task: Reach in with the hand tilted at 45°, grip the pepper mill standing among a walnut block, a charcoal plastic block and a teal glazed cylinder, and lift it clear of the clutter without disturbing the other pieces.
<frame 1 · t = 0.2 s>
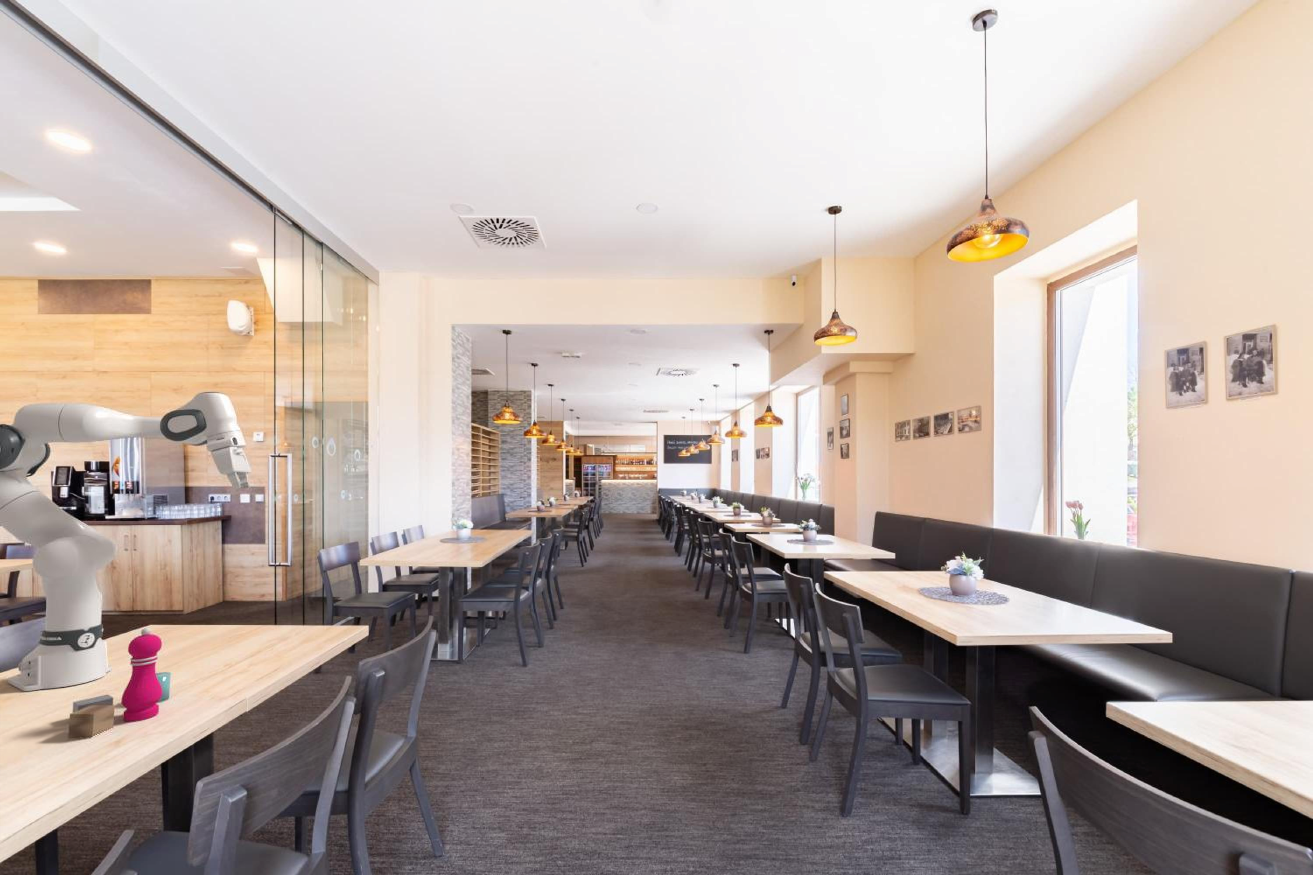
hand: (241, 488, 180), 52 cm above the table, tool tilted 20°, fingers open, 8 cm apart
walnut block: (91, 733, 130), on the table
charcoal block: (92, 717, 138), on the table
pepper mill: (141, 717, 139), on the table
teal glazed cylinder: (156, 700, 149), on the table
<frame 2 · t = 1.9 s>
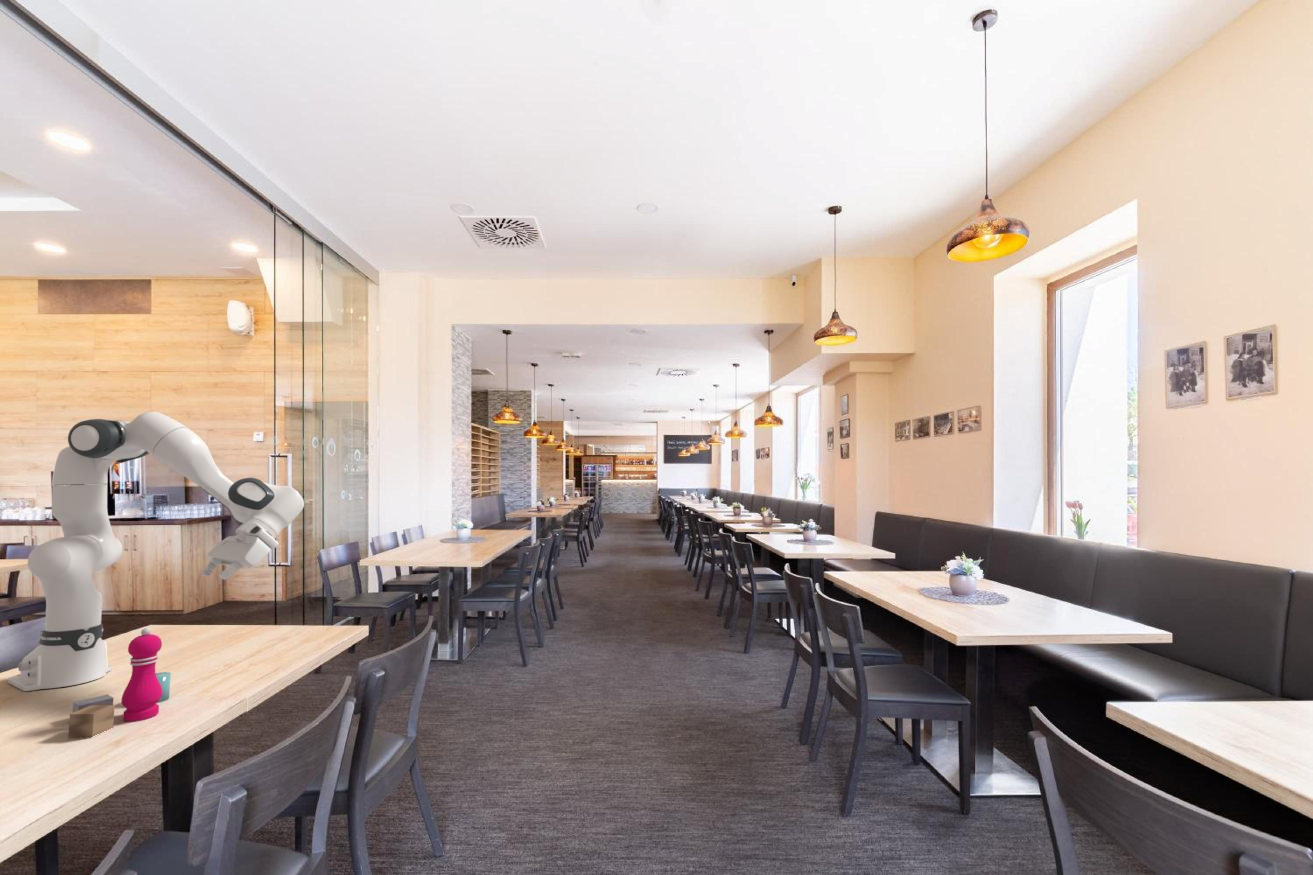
hand: (212, 576, 158), 29 cm above the table, tool tilted 45°, fingers open, 8 cm apart
nothing on the table moved.
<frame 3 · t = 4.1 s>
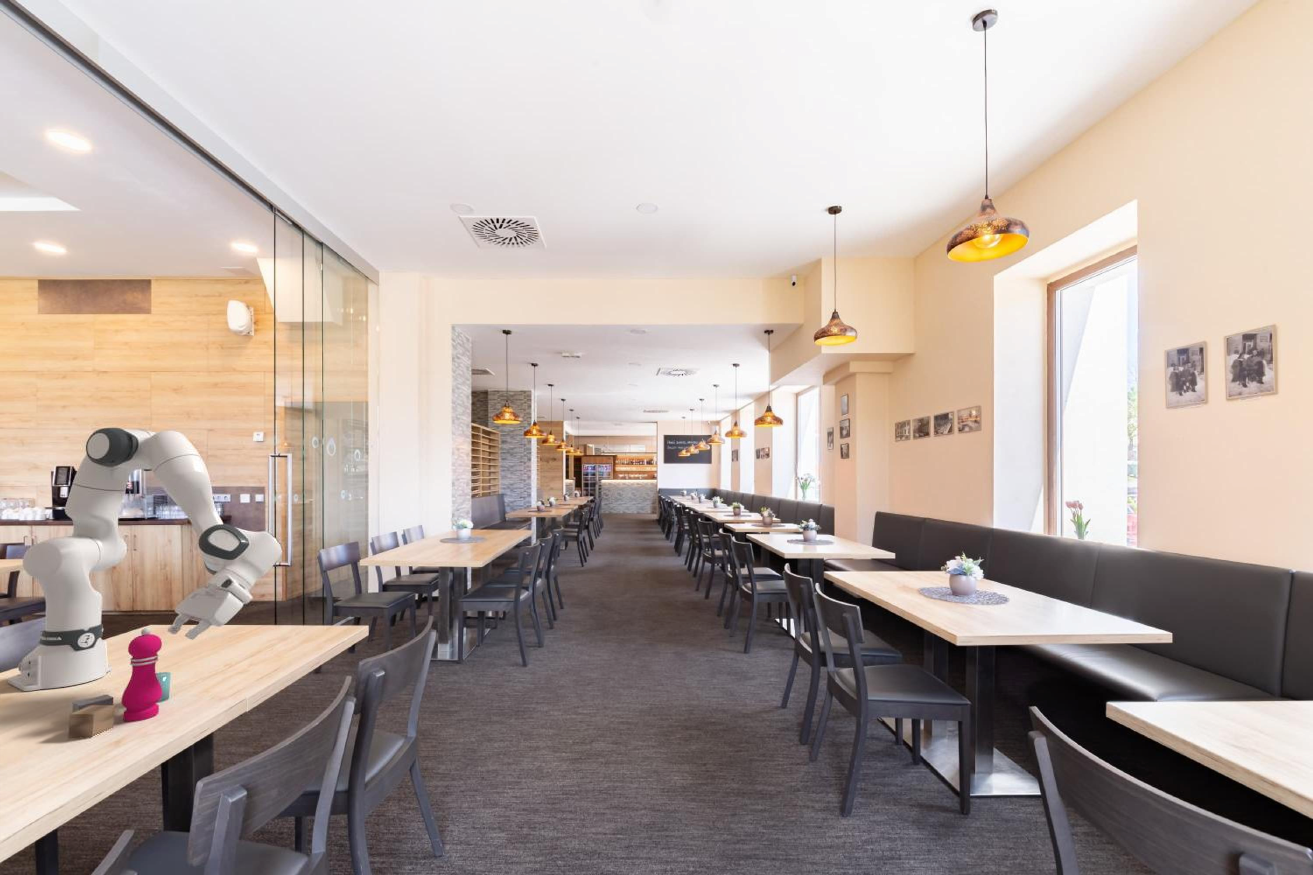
hand: (179, 635, 146), 17 cm above the table, tool tilted 45°, fingers open, 8 cm apart
nothing on the table moved.
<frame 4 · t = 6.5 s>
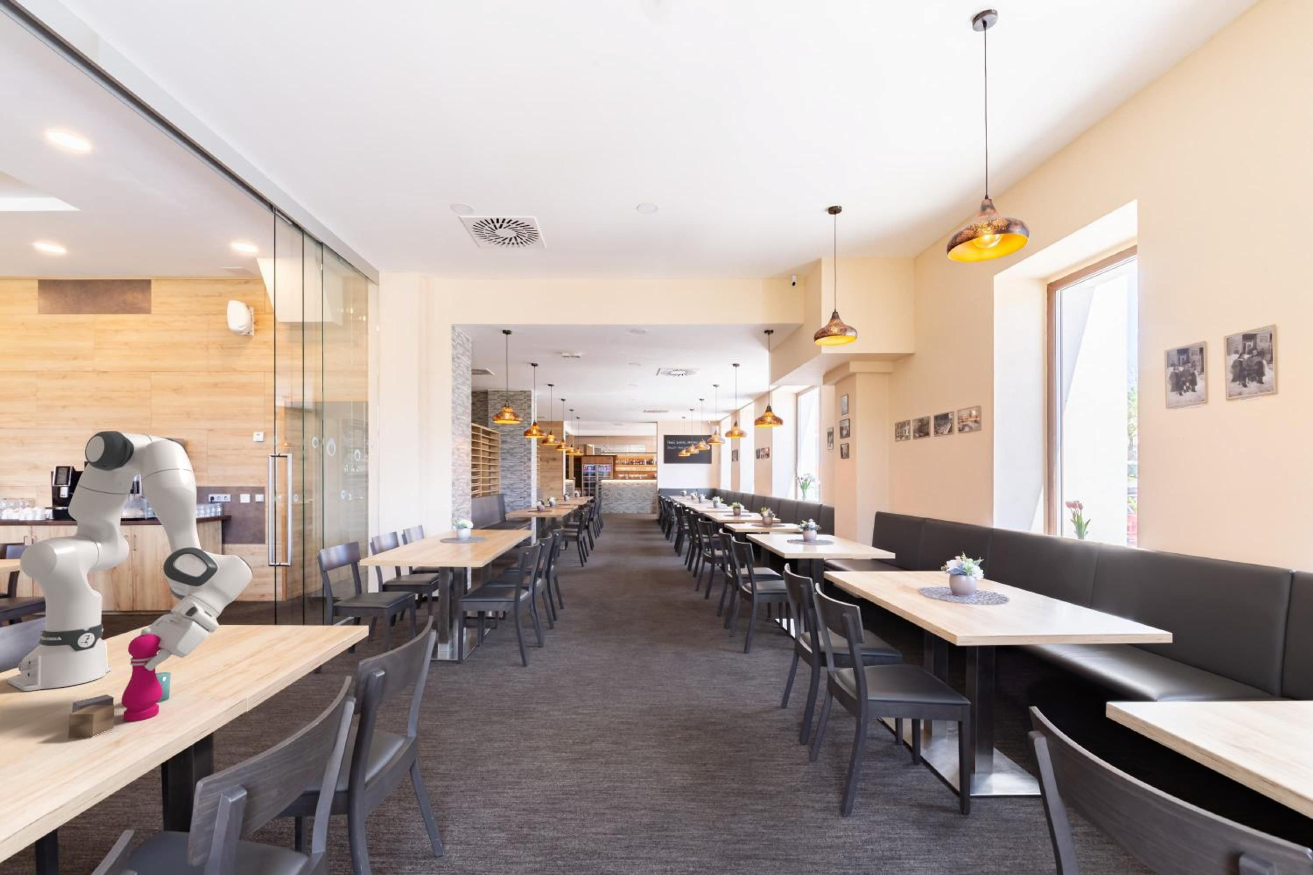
hand: (140, 666, 139), 11 cm above the table, tool tilted 45°, fingers closed on pepper mill, 5 cm apart
pepper mill: (141, 717, 139), on the table, touching gripper
everything else where it was.
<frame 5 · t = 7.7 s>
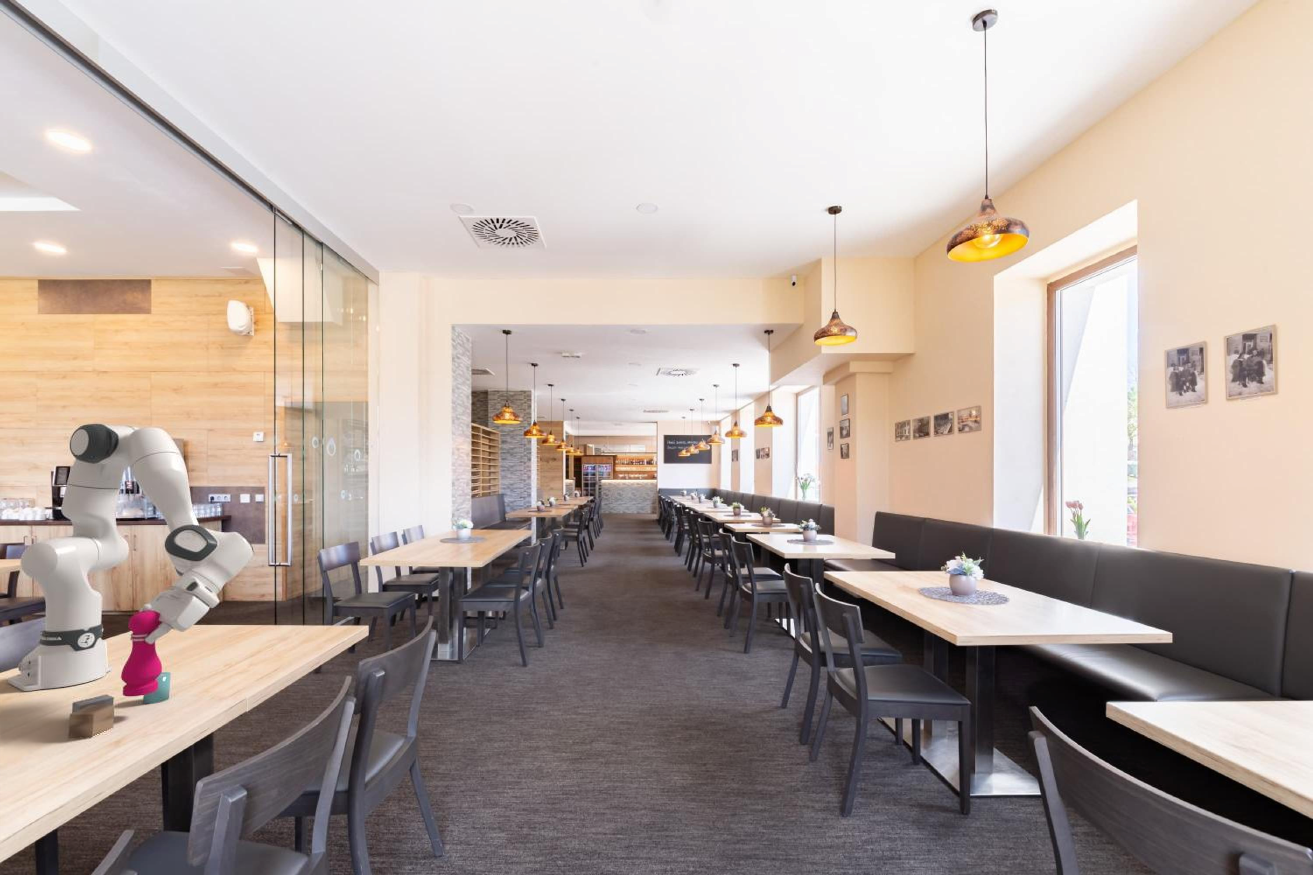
hand: (140, 639, 140), 17 cm above the table, tool tilted 45°, fingers closed on pepper mill, 5 cm apart
pepper mill: (140, 692, 139), point 5 cm above the table, touching gripper
everything else where it was.
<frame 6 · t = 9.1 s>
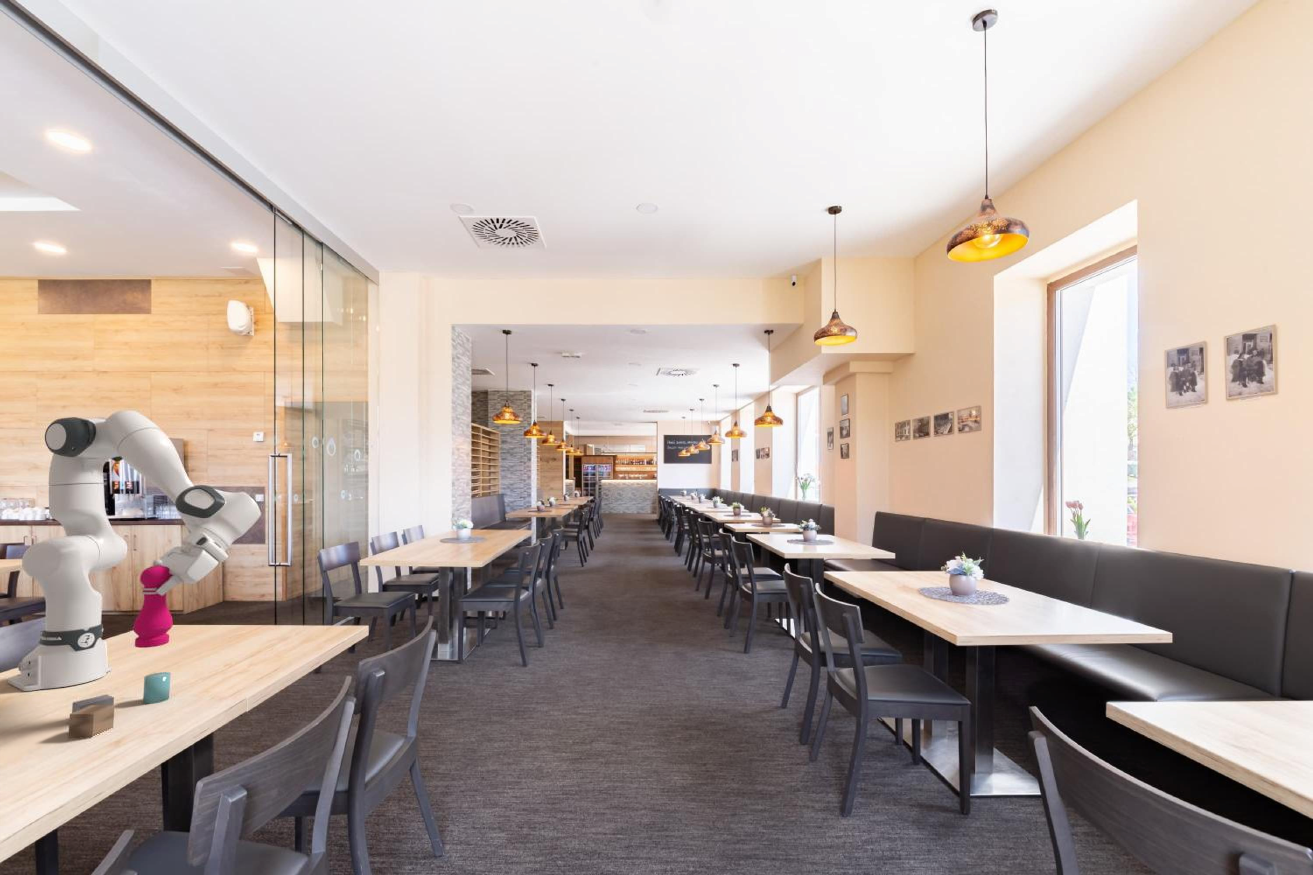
hand: (152, 591, 144), 28 cm above the table, tool tilted 45°, fingers closed on pepper mill, 5 cm apart
pepper mill: (151, 645, 143), point 15 cm above the table, touching gripper
everything else where it was.
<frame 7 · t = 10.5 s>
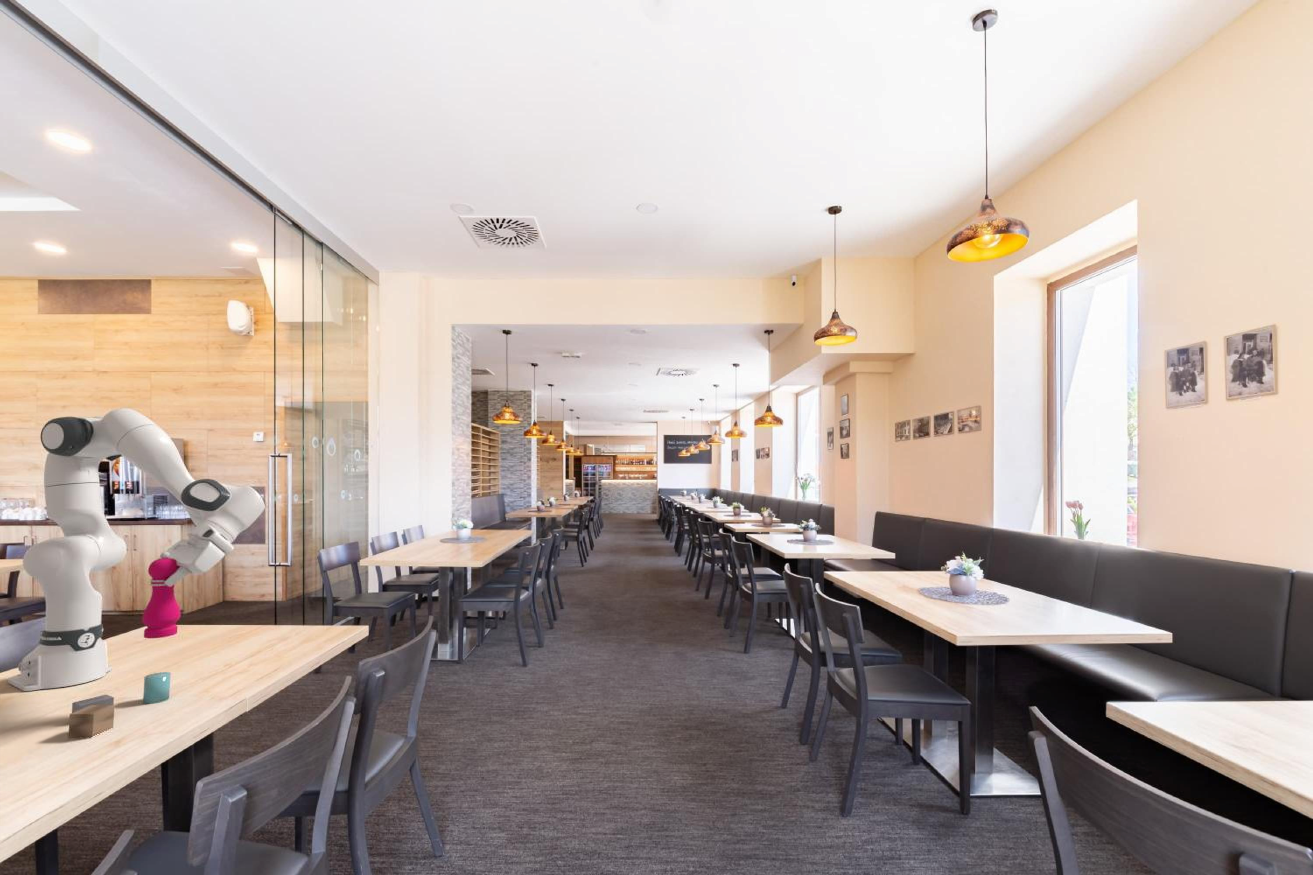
hand: (160, 583, 146), 29 cm above the table, tool tilted 45°, fingers closed on pepper mill, 5 cm apart
pepper mill: (160, 635, 146), point 17 cm above the table, touching gripper
everything else where it was.
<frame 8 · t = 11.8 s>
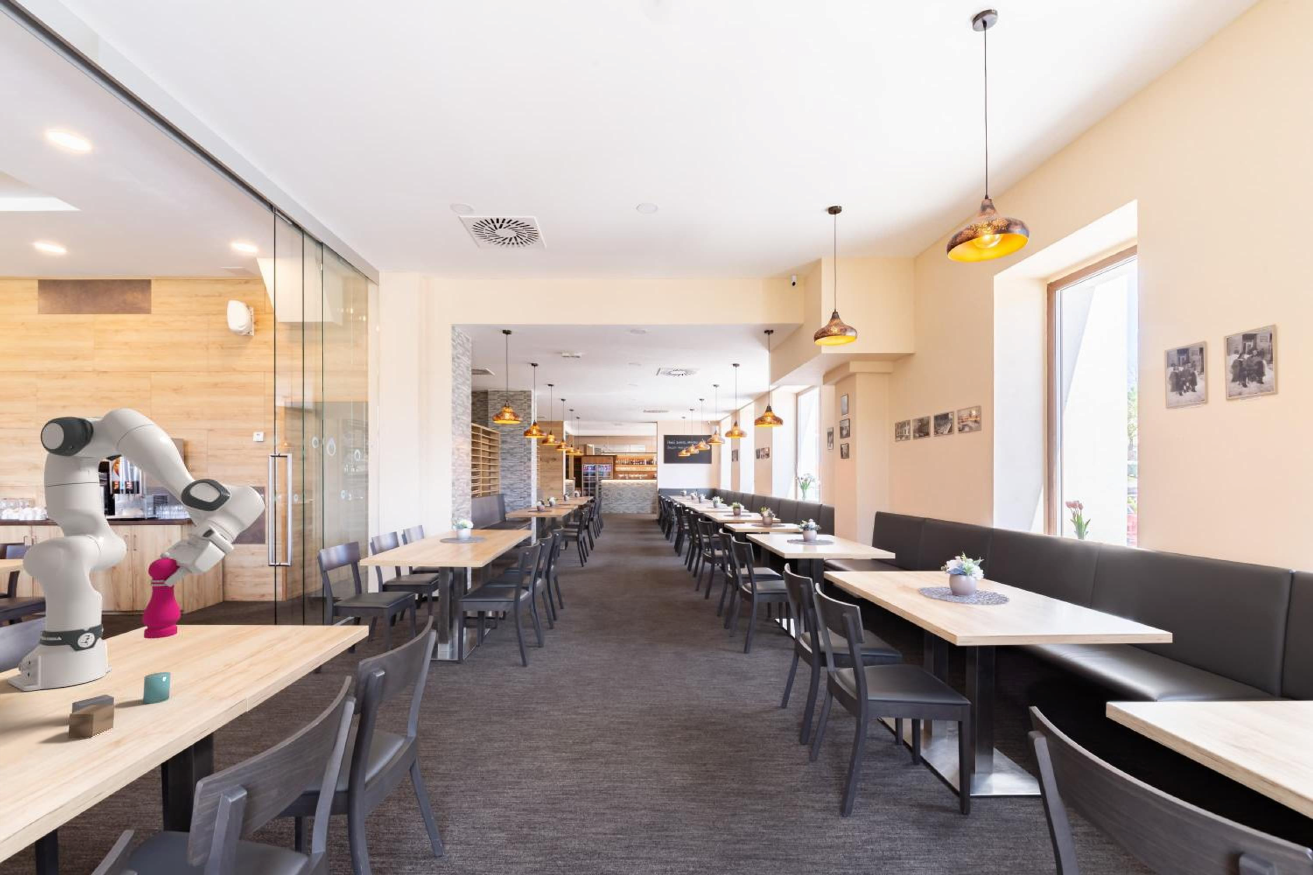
hand: (160, 583, 146), 29 cm above the table, tool tilted 45°, fingers closed on pepper mill, 5 cm apart
pepper mill: (160, 636, 146), point 17 cm above the table, touching gripper
everything else where it was.
at the end: the gripper is holding pepper mill; pepper mill point 16.6 cm above the table; walnut block moved 0.1 cm from its start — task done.
